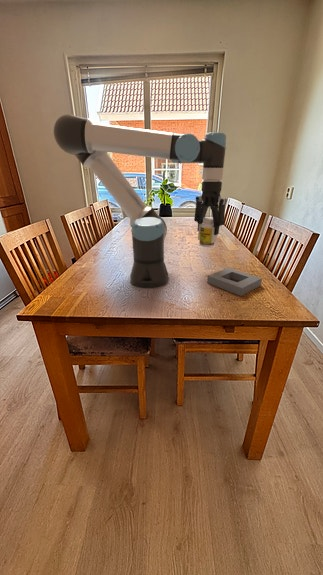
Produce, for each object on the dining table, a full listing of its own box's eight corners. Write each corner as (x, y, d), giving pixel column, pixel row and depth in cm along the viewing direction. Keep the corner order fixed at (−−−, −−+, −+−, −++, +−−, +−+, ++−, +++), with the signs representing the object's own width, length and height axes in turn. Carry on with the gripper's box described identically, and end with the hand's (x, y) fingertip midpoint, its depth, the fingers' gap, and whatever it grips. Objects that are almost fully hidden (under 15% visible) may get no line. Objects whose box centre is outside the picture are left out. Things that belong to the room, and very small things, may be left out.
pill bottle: (196, 245, 105) (198, 218, 100) (204, 242, 109) (206, 216, 104) (208, 248, 101) (211, 220, 96) (216, 245, 105) (219, 218, 100)
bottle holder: (240, 296, 85) (242, 288, 84) (207, 282, 96) (207, 275, 95) (260, 285, 93) (262, 278, 92) (227, 274, 103) (228, 267, 102)
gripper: (239, 181, 90) (231, 243, 99) (199, 179, 103) (196, 235, 113) (227, 181, 85) (220, 247, 95) (186, 180, 98) (184, 237, 108)
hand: (207, 240), depth 104 cm, fingers closed on pill bottle, 6 cm apart
